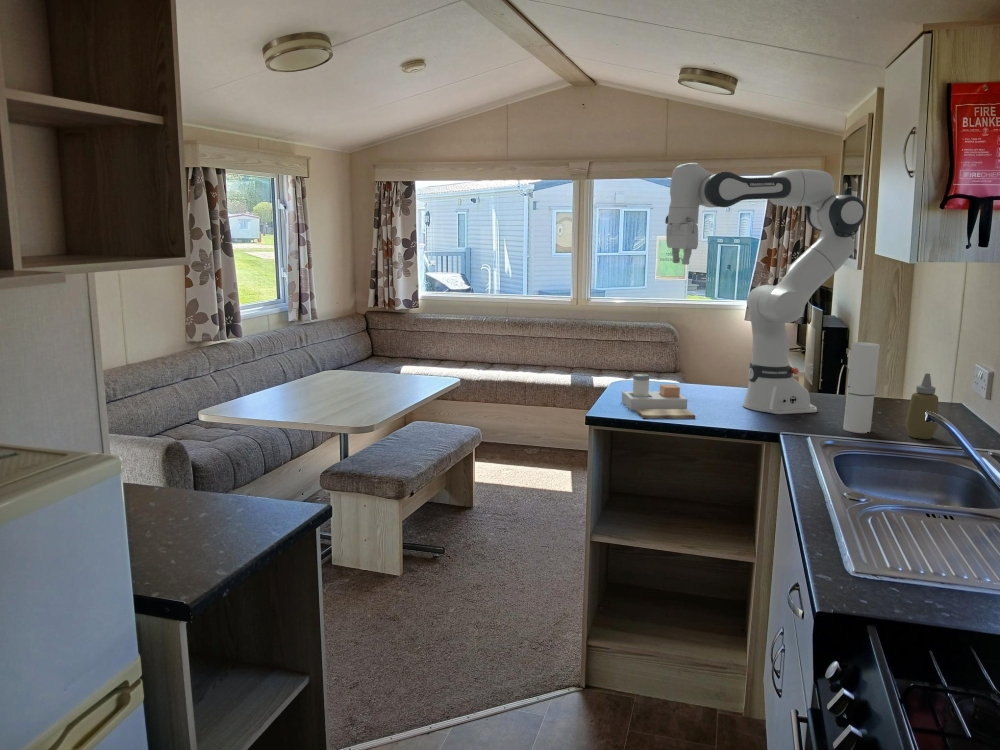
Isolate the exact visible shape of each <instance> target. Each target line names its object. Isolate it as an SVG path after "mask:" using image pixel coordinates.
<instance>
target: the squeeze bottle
mask: <svg viewBox="0 0 1000 750" xmlns="http://www.w3.org/2000/svg"><path fill="white" fill-rule="evenodd" d="M935 393H936V387H935V386H932V378H931V373H927V372H926V373H925V374H924V377H923V378H922V382H921V384H919V385H916V389H915V392H913V393H912V394H911V397H910V401H909V404H908V405H909V406H908V409H907V415H906V419H905V428H906V431H907V435H908V436H909V437H911V438H913V439H914V438H915V439H917V438H918V440H931V439H933V437H934V435H935V433H936V431H937V429H938V427H939V423H938V424H937V423H934V422H926V421H925V412H926V411H927V410H928V411H931V412H934V413H936V414H938V415H939V396H938V395H937V394H935Z"/></svg>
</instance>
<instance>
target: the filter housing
mask: <svg viewBox="0 0 1000 750" xmlns="http://www.w3.org/2000/svg"><path fill="white" fill-rule="evenodd" d="M632 395H633V390H625V391H624V390H622V391H621V402H622V404H624V405H625V407H627V408H628V409H629V410H630V411H636V409H687V410H688V398H686V397H685V396H684V395H682V394H681V393H680V395H679V397H662V396H661V395H660V390H659V391H658V390H657V391H656V390H655V391H653V390H649V393H648V397H632Z"/></svg>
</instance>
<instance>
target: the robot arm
mask: <svg viewBox="0 0 1000 750" xmlns="http://www.w3.org/2000/svg"><path fill="white" fill-rule="evenodd" d="M834 181H835V180H834V179H833V176H832V175H831V173H829V172H827V171H825V170H824V171H823V170H820V169H819V170H818V169H810V168H807V169H803V168H801V169H798V168H797V169H788V170H781V171H777V172H774V173H773V174H772V175H771V176H766V177H765V176H764V177H761V176H759V177H744V176H740V175H738V174H736V173H734V172H731V171H722V172H721V171H720V172H718V173H713V172H711V171H708V170H707V169H705V168H704V167H703V166H701V165H700V164H699V163H698V162H690V163H684V164H679V165H677V166H676V167H675V168H674V169H673V170H672V173H671V180H670V185H669V186H670V188H669V195H670V203H669V207H668V214H667V215H666V217H665V221H664V222H665V223H664V224H666V231H665V232H666V246H667V248H668V249H671V254H672V255H671V256H672V263H673V264H680V262H681V264H682V265H686V266H687V265H689V264H690V259H691V256H692V252H693V250H697V249H698V246H699V245H698V244H699V227H698V224H699V214H700V213H699V212H700V211H699V210H700V206H702V207H705V208H728V207H732V206H734V205H736V204H737V203H739V202H741V201H747V200H769V201H770V203H772V205H774V206H780V207H781V206H782V207H804V209H805V217H806V221H807V223H808V225H809V226H810V227H811V228H812V229H814V230H816V231H819V232H820V235H819V237H818V238H817V240H816V241H815V242H814V243H813V244H812V245H810V246H809V247H808V248H807V249H806V250H805V251H804V252H802V253H801V254H800V256H798V257H797V258H796V259H795V260H794V261H793V262H791V264H790V265H789V267H788V270H787V272H786V274H785V275H784V276H783V278H782V280H780V282H779V283H777V284H776V285H771V284H763V285H759V286H757V287H755V288H753V289H752V290H751V291H750V292H749V293H748V295H747V296H746V305H747V309H748V310H749V314H750V315H749V316H750V322H751V330H752V331H751V332H752V349H751V350H752V351H751V361H750V363H749V369H748V386H747V392H746V395H745V398H744V401H743V403H742V406H743V407H744V408H747V409H748V410H751V411H757V412H765V413H770V414H775V415H787V414H789V415H790V414H804V413H805V414H806V413H816V412H818V409H817V406H815V405H814V404H812V403H811V398H810V397H811V396H810V392H809V390H808V389H807V388H806V387H805V386H803V384H801V383H800V382H799V381H797V380H796V379H795V378H794V377H793V375H799V373H800V369H799V368H797V367H795V366H794V367H792V366H790V364H789V356H790V345H791V344H790V338H789V336H788V332H787V326H786V324H789V323H793V322H796V321H798V320H799V319H800V318H801V317H802V315H803V314H804V311H805V309H806V305H807V303H808V302H809V300H810V299H811V297H812V296H813V294H815V292H817V290H818V289H819V288H820V287H821V286H822V285H823V284H824V283H825V282H826V281H827V280H829V279H830V278H831V277H832V276H833V275H834V274H835V273H836V272H837V271H839V269H840V268H841V267H842V266H843V265H844V264H845V262H846V261H847V260H848V259H849V258H850V257H851V256H852V254H853V252H854V251H855V241H854V239H853V238H852V236H854V235H856V234H857V233H858V230H859V228H860V226H861V225H862V223H863V221H864V219H865V217H866V211H867V210H866V209H867V208H866V204H865V203H864V202H863V200H862V199H860V198H859V197H858V196H854V195H851V194H844V195H843V194H837V193H836V192H835V190H834V189H835V183H834ZM680 250H683V251H682V252H683V257H682V259H681V258H680ZM680 260H681V261H680Z"/></svg>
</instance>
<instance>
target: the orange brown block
mask: <svg viewBox="0 0 1000 750" xmlns="http://www.w3.org/2000/svg"><path fill="white" fill-rule="evenodd" d="M680 390H681V387H680V386H678V385H676V384H671V383H670V384H663V383H661V384H659V391H660V395H661V396H662V397H679V395H680V394H681V391H680Z"/></svg>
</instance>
